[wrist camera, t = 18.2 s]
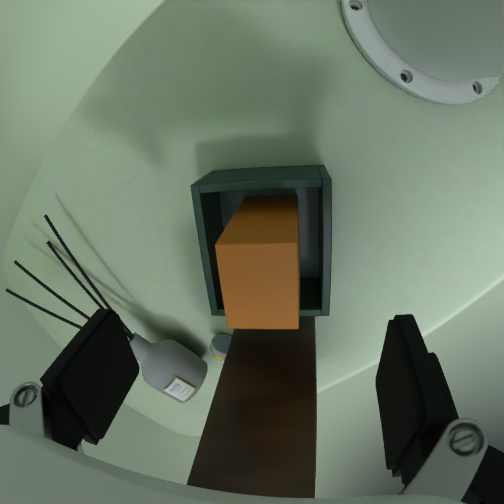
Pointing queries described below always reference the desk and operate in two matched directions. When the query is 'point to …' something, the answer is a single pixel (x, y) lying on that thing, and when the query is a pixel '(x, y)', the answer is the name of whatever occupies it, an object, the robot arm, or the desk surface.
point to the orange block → (261, 264)
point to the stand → (263, 416)
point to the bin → (270, 184)
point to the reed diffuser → (149, 345)
